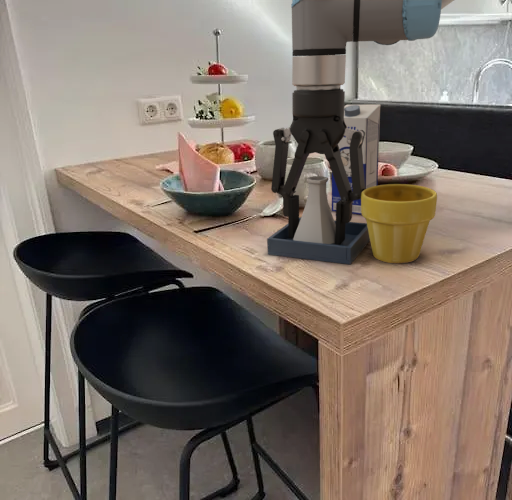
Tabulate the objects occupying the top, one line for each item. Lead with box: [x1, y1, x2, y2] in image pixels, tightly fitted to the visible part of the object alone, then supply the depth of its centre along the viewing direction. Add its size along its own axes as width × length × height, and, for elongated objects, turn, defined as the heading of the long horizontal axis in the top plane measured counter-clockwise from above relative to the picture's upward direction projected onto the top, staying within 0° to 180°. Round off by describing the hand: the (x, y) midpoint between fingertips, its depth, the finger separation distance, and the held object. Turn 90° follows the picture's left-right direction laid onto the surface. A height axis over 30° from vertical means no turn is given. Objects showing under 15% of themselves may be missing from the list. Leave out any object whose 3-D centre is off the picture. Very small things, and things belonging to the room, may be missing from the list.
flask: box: [293, 175, 336, 244], centre depth 78 cm, size 7×7×10 cm
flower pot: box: [361, 183, 438, 264], centre depth 73 cm, size 10×10×10 cm
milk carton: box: [331, 103, 382, 215], centre depth 96 cm, size 7×7×20 cm
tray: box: [266, 217, 370, 265], centre depth 79 cm, size 13×12×3 cm
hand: (316, 238), depth 80 cm, fingers closed on flask, 7 cm apart
